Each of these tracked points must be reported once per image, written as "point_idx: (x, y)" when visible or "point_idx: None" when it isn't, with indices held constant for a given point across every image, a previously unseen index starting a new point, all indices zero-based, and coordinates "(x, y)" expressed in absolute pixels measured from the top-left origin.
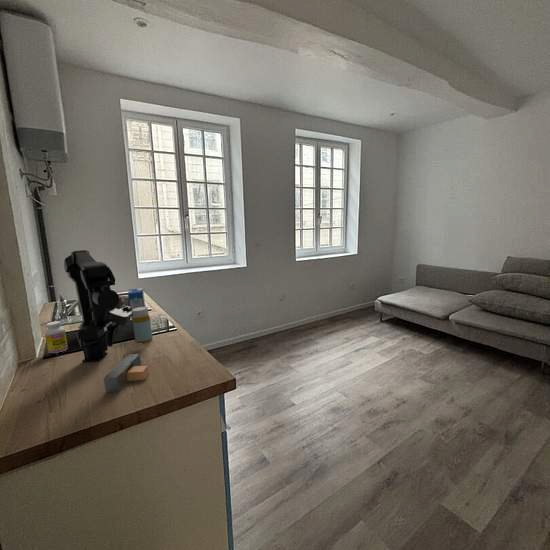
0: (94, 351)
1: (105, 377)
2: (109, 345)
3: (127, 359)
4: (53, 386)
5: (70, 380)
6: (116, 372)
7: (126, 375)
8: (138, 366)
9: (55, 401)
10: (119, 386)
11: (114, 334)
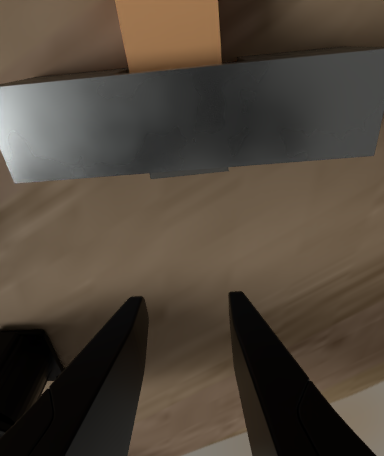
0: (19, 381)
1: (367, 147)
2: (144, 323)
3: (90, 142)
4: None
5: (201, 336)
6: (306, 103)
7: None
8: (125, 13)
9: (352, 298)
10: (338, 48)
11: (29, 410)
